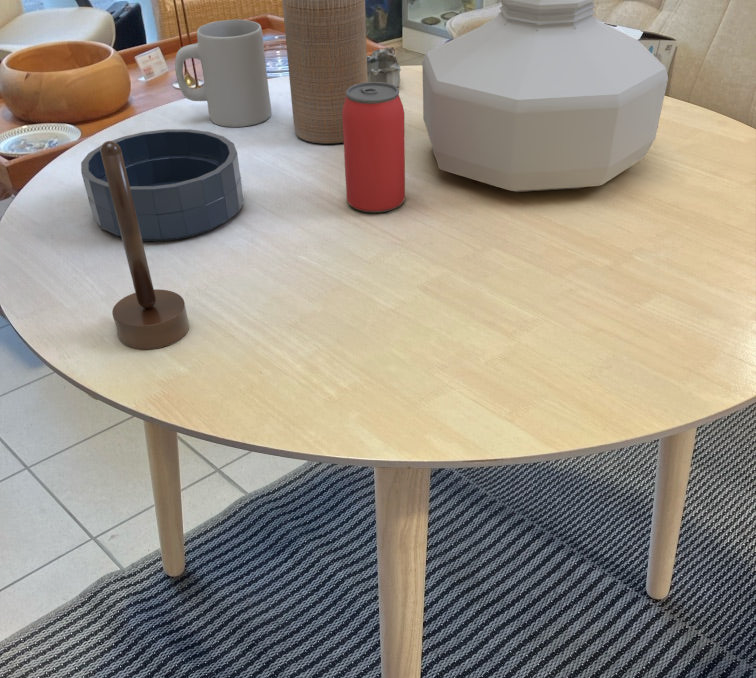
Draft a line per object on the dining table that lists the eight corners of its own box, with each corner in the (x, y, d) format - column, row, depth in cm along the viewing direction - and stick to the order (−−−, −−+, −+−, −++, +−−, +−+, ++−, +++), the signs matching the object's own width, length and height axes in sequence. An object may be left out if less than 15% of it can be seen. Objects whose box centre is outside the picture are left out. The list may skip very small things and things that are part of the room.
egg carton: (396, 75, 129) (396, 45, 126) (402, 92, 124) (402, 61, 121) (326, 79, 129) (324, 49, 126) (328, 95, 123) (327, 65, 120)
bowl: (75, 203, 99) (60, 151, 95) (207, 169, 105) (199, 118, 101) (125, 259, 88) (111, 203, 84) (268, 217, 95) (262, 163, 91)
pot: (637, 222, 91) (674, 29, 78) (388, 194, 98) (384, 12, 85) (660, 128, 110) (693, -40, 98) (450, 110, 117) (455, -48, 105)
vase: (305, 116, 117) (284, -135, 98) (376, 119, 116) (368, -135, 97) (285, 143, 110) (258, -121, 91) (360, 147, 109) (348, -121, 90)
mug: (267, 102, 122) (257, 16, 114) (275, 123, 116) (266, 33, 108) (182, 112, 120) (166, 25, 112) (186, 133, 114) (170, 43, 106)
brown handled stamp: (108, 325, 79) (55, 138, 67) (173, 305, 82) (132, 120, 70) (133, 357, 75) (81, 164, 63) (200, 335, 78) (162, 144, 66)
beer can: (384, 185, 100) (382, 75, 92) (416, 205, 96) (416, 92, 88) (336, 199, 98) (328, 88, 89) (366, 220, 93) (362, 105, 85)
